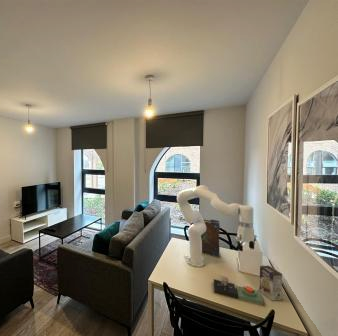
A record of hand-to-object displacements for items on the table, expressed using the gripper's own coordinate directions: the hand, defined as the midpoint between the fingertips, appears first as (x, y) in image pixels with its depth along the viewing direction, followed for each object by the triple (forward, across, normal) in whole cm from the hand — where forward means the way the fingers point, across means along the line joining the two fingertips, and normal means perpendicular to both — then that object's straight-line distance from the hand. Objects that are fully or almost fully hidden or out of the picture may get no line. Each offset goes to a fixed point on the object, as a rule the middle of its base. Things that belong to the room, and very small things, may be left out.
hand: (245, 249), depth 126 cm
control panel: (+24, +19, +2) cm, 31 cm away
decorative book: (+24, -4, -43) cm, 49 cm away
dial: (+21, +19, +2) cm, 28 cm away
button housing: (+24, +10, +10) cm, 27 cm away
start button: (+20, +10, +10) cm, 24 cm away
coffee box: (+24, -4, +13) cm, 27 cm away
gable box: (+24, -20, -14) cm, 34 cm away
